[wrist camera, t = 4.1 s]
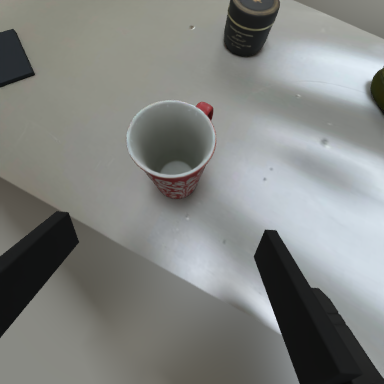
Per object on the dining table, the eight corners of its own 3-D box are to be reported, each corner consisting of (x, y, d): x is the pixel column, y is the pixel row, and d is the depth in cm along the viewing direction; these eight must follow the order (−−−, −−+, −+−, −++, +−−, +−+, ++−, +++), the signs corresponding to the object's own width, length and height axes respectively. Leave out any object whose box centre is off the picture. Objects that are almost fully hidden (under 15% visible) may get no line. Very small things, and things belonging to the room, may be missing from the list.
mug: (182, 215, 28) (180, 196, 15) (141, 184, 29) (106, 142, 16) (222, 161, 31) (250, 106, 18) (183, 135, 32) (184, 66, 19)
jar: (256, 64, 38) (273, 22, 30) (216, 49, 38) (223, 5, 31) (267, 36, 40) (286, -8, 33) (229, 23, 41) (240, -24, 33)
